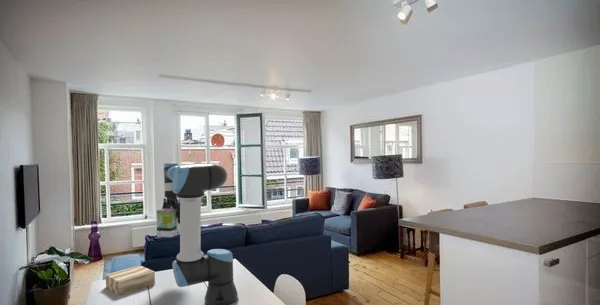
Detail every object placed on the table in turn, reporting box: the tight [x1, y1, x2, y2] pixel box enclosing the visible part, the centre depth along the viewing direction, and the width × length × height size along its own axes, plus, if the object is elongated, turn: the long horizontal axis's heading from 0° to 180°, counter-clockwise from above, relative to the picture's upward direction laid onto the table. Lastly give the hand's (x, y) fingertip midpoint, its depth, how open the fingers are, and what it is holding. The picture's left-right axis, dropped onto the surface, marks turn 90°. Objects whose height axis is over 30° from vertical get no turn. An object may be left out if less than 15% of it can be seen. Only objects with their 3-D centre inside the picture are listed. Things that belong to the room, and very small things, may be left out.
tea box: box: [156, 207, 180, 238], centre depth 181 cm, size 15×10×15 cm, turn 166°
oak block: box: [105, 264, 156, 296], centre depth 173 cm, size 18×18×7 cm
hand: (172, 227), depth 181 cm, fingers closed on tea box, 12 cm apart
